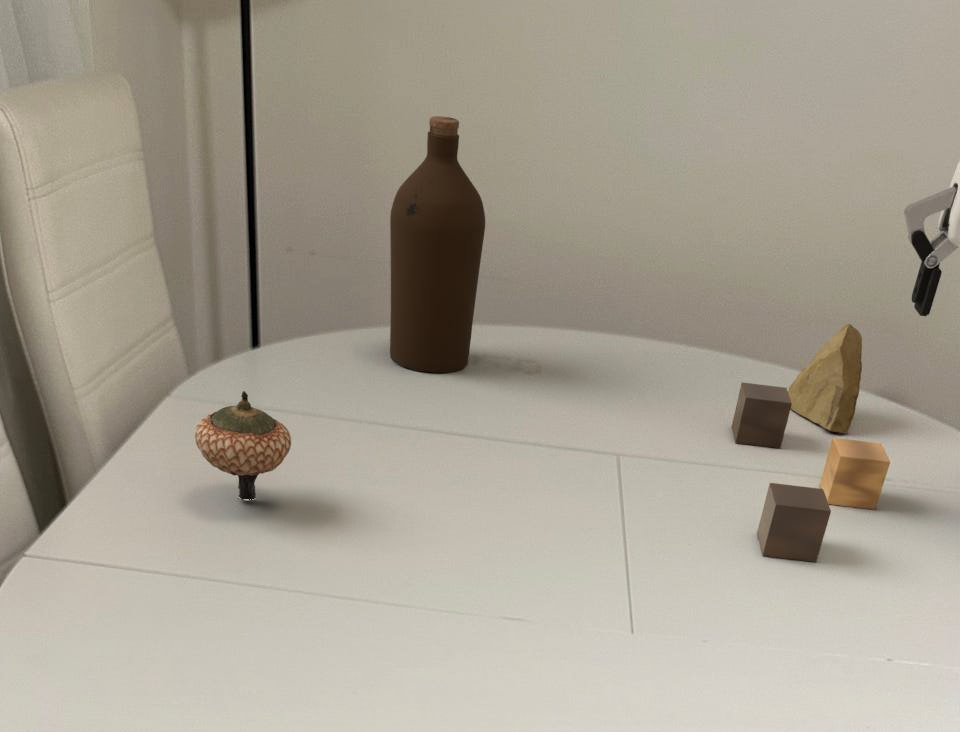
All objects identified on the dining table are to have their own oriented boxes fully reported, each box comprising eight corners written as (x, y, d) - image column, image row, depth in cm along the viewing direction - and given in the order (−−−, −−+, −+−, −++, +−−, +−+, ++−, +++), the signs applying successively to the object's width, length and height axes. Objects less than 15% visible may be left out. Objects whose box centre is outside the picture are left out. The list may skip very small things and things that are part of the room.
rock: (877, 422, 135) (883, 383, 141) (848, 354, 130) (855, 317, 137) (786, 461, 141) (796, 422, 147) (755, 397, 137) (767, 360, 143)
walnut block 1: (775, 432, 136) (786, 387, 133) (780, 448, 132) (792, 403, 129) (731, 426, 136) (741, 382, 133) (735, 443, 132) (745, 397, 129)
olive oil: (468, 379, 140) (489, 133, 124) (378, 368, 140) (387, 121, 124) (476, 351, 148) (497, 117, 132) (391, 341, 148) (401, 105, 132)
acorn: (182, 508, 107) (175, 395, 101) (225, 475, 113) (220, 367, 107) (268, 528, 106) (265, 414, 99) (306, 493, 112) (306, 384, 105)
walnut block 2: (808, 539, 114) (823, 488, 111) (816, 562, 111) (831, 511, 107) (756, 532, 114) (769, 482, 111) (762, 556, 111) (775, 504, 107)
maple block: (866, 490, 125) (881, 443, 122) (875, 510, 121) (890, 461, 118) (819, 484, 125) (832, 437, 122) (826, 504, 121) (840, 455, 118)
